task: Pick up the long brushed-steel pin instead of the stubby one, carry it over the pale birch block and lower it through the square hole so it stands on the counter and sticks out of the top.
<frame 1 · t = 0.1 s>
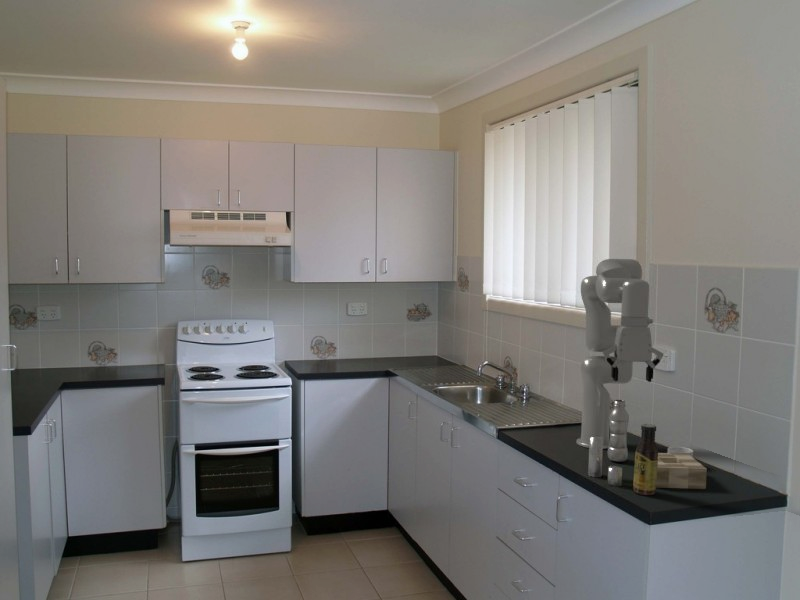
hand: (631, 380, 225), 31 cm above the counter, fingers open, 9 cm apart
long pin: (594, 475, 235), on the counter
teacup: (676, 466, 247), on the counter
short pin: (614, 484, 227), on the counter
plastic bottle: (617, 461, 252), on the counter
sauce bottle: (644, 493, 220), on the counter
hole block: (669, 479, 232), on the counter
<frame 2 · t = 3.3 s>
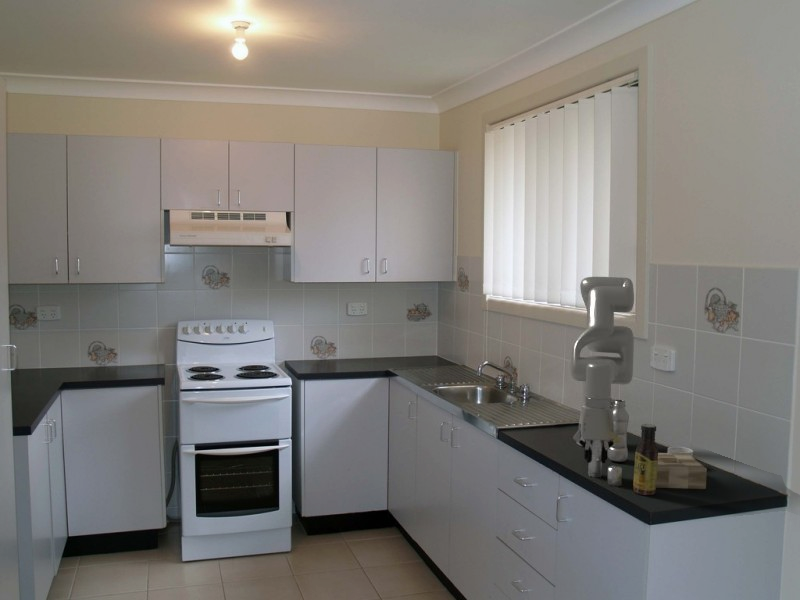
hand: (595, 461, 235), 5 cm above the counter, fingers closed on long pin, 4 cm apart
long pin: (594, 475, 235), on the counter, touching gripper
everything else where it was.
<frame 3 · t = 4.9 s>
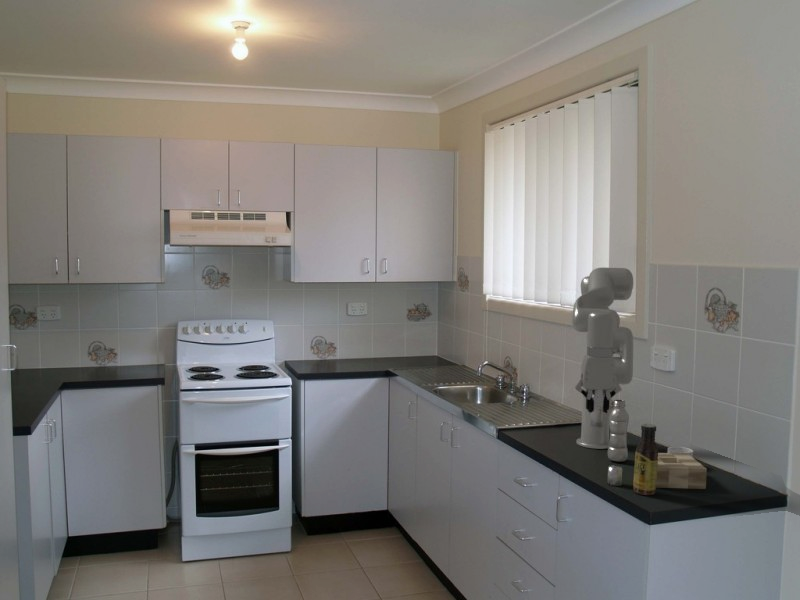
hand: (597, 411, 234), 20 cm above the counter, fingers closed on long pin, 4 cm apart
long pin: (596, 425, 234), point 15 cm above the counter, touching gripper
everything else where it was.
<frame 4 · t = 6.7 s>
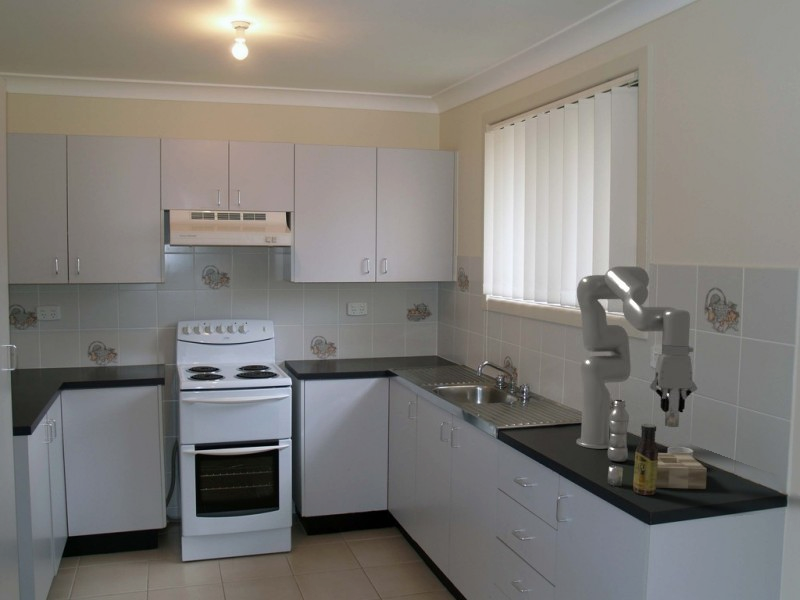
hand: (672, 410, 231), 21 cm above the counter, fingers closed on long pin, 4 cm apart
long pin: (671, 425, 231), point 17 cm above the counter, touching gripper
everything else where it was.
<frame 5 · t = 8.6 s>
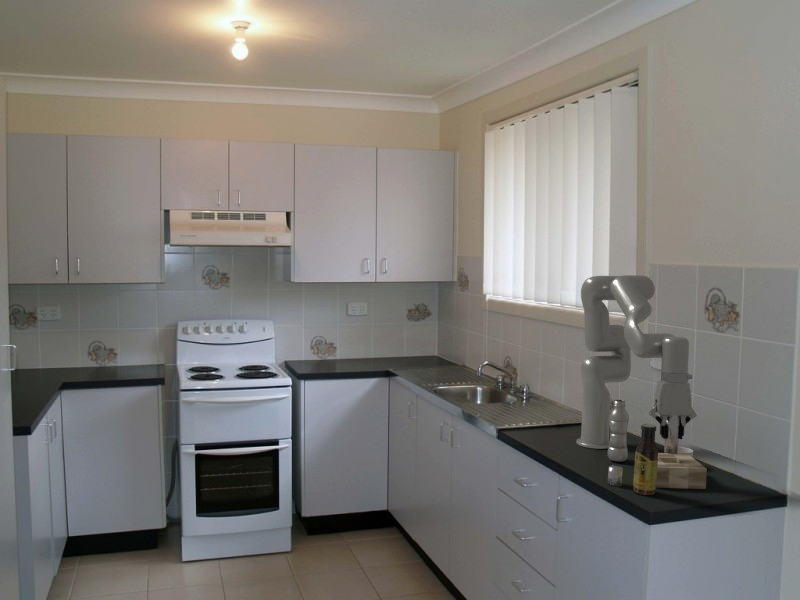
hand: (671, 437, 231), 13 cm above the counter, fingers closed on long pin, 4 cm apart
long pin: (671, 452, 232), point 9 cm above the counter, touching gripper
everything else where it was.
when the fingers open (7 cm above the counter, at t = 10.3 s): long pin drops 3 cm, resting in hole block.
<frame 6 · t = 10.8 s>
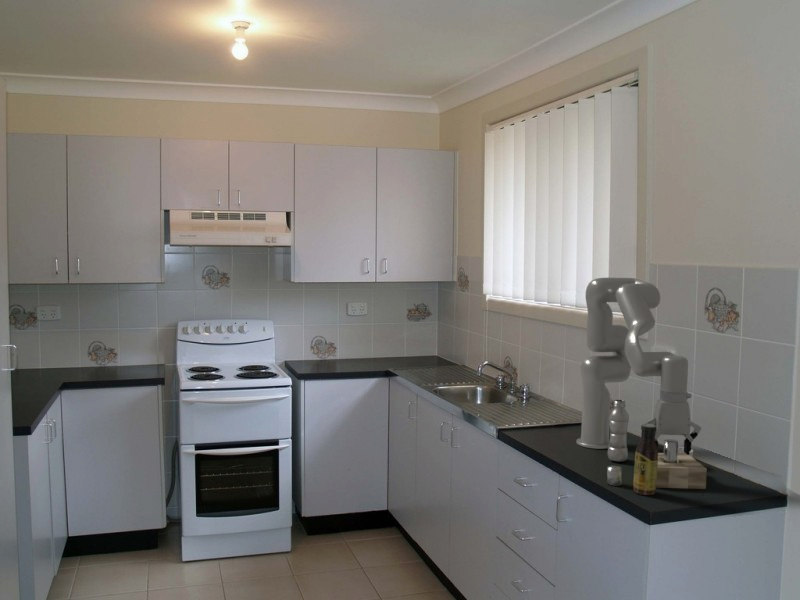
hand: (670, 453, 232), 8 cm above the counter, fingers open, 9 cm apart
long pin: (669, 479, 233), resting in hole block
everything else where it was.
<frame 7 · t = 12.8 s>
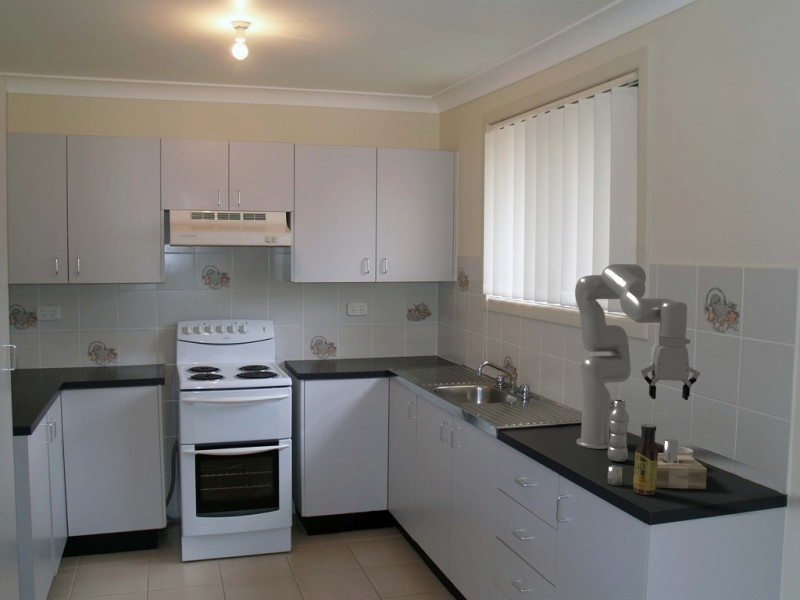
hand: (668, 398, 232), 25 cm above the counter, fingers open, 9 cm apart
nothing on the counter moved.
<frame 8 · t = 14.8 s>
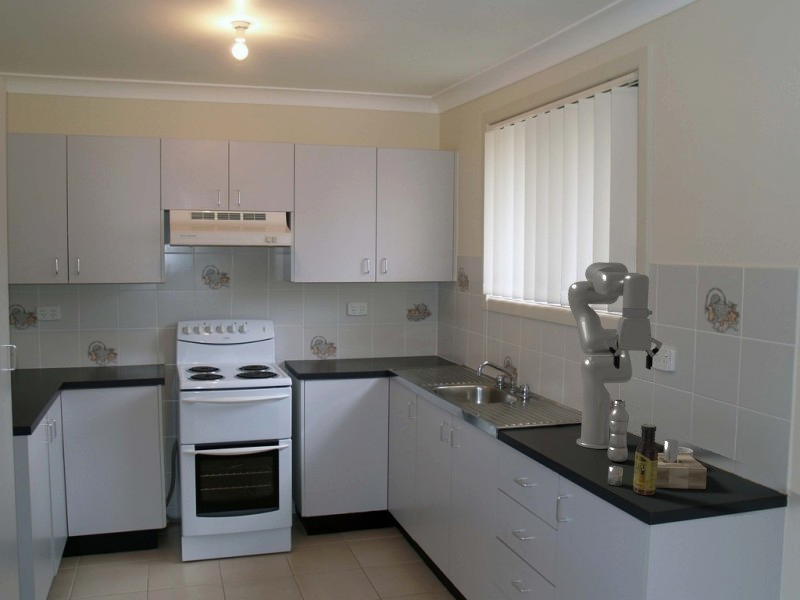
hand: (632, 368, 239), 32 cm above the counter, fingers open, 9 cm apart
nothing on the counter moved.
at the end: long pin 0.0 cm off-centre on the hole block, point 0.0 cm above the hole block's base; long pin tilted 0°; short pin moved 0.1 cm from its start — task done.
